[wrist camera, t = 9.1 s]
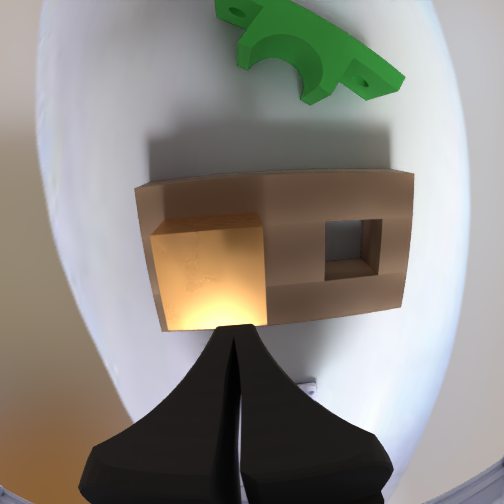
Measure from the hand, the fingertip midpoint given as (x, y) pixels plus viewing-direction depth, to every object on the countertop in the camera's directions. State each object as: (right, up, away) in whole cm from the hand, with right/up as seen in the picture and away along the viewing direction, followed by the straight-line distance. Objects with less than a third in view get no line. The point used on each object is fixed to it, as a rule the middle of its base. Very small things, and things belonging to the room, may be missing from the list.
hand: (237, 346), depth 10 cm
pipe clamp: (+3, +15, +5) cm, 17 cm away
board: (+2, +4, +9) cm, 10 cm away
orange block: (-2, +4, +9) cm, 10 cm away
